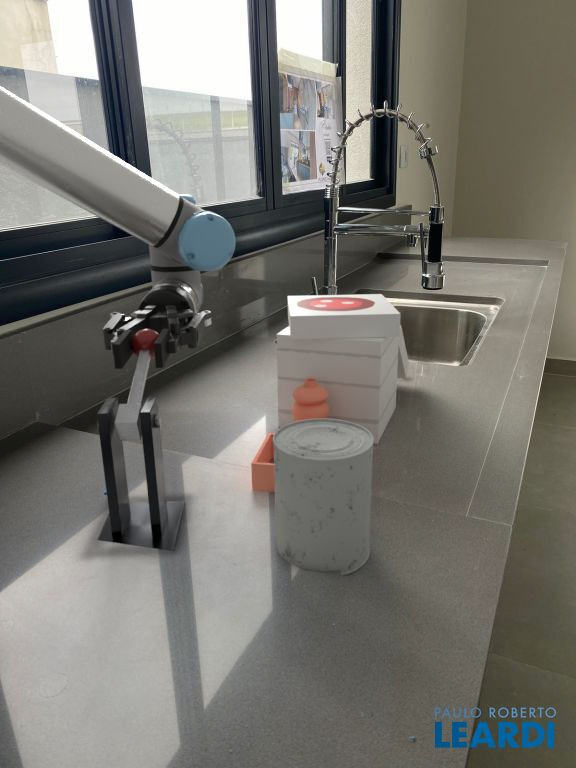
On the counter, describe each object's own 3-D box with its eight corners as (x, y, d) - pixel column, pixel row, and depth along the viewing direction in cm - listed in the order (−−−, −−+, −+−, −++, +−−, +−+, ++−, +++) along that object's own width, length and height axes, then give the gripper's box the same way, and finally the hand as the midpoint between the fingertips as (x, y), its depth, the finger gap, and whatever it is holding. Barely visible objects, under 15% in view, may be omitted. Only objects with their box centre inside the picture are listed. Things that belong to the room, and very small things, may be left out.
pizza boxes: (418, 384, 109) (424, 284, 103) (388, 452, 82) (394, 322, 76) (316, 374, 115) (316, 279, 109) (257, 435, 88) (254, 313, 82)
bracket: (114, 512, 68) (99, 389, 64) (185, 509, 69) (175, 386, 64) (91, 565, 59) (71, 425, 54) (173, 562, 59) (161, 423, 54)
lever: (136, 348, 72) (131, 323, 70) (166, 347, 72) (162, 322, 70) (112, 445, 60) (105, 418, 57) (149, 444, 60) (143, 417, 57)
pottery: (332, 502, 70) (332, 423, 67) (252, 495, 72) (249, 418, 68) (347, 439, 86) (348, 374, 83) (282, 435, 88) (281, 371, 85)
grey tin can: (264, 532, 64) (261, 425, 60) (347, 516, 67) (350, 413, 63) (291, 587, 55) (290, 466, 51) (386, 567, 58) (391, 450, 54)
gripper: (228, 334, 88) (218, 387, 66) (112, 337, 87) (62, 391, 65) (226, 283, 85) (214, 319, 63) (107, 285, 85) (53, 323, 63)
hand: (138, 356), depth 64 cm, fingers closed on lever, 4 cm apart
